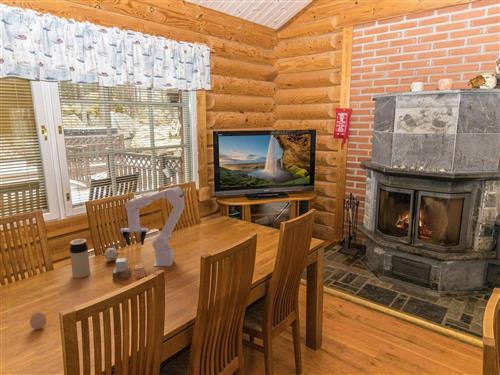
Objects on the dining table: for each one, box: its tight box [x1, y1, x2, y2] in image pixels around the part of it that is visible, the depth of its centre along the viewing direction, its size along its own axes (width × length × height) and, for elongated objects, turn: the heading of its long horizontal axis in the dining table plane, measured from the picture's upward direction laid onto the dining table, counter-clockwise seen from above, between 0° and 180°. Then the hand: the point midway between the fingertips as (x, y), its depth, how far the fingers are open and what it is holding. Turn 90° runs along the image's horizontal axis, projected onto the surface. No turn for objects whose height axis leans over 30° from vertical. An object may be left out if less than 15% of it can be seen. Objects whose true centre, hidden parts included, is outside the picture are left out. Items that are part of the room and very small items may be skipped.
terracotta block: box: [134, 263, 146, 279], centre depth 170 cm, size 4×4×5 cm
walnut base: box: [111, 265, 131, 281], centre depth 168 cm, size 7×7×4 cm
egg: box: [29, 310, 47, 330], centre depth 125 cm, size 5×5×7 cm
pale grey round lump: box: [102, 246, 120, 263], centre depth 186 cm, size 9×8×10 cm
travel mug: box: [69, 238, 91, 279], centre depth 168 cm, size 8×8×18 cm
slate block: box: [115, 257, 128, 272], centre depth 168 cm, size 4×4×5 cm
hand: (135, 244), depth 185 cm, fingers open, 7 cm apart
